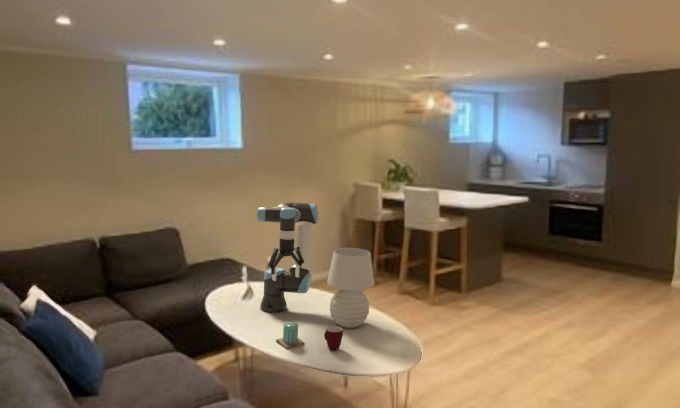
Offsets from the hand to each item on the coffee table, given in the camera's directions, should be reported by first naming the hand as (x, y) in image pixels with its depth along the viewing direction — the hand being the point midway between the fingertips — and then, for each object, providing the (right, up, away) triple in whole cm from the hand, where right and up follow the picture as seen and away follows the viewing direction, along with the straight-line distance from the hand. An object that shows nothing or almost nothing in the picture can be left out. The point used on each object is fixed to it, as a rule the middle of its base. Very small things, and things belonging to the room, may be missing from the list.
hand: (285, 278), depth 264 cm
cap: (+4, -28, -15) cm, 32 cm away
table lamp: (+33, -27, +13) cm, 44 cm away
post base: (+4, -29, -15) cm, 33 cm away
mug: (+24, -31, -19) cm, 43 cm away
